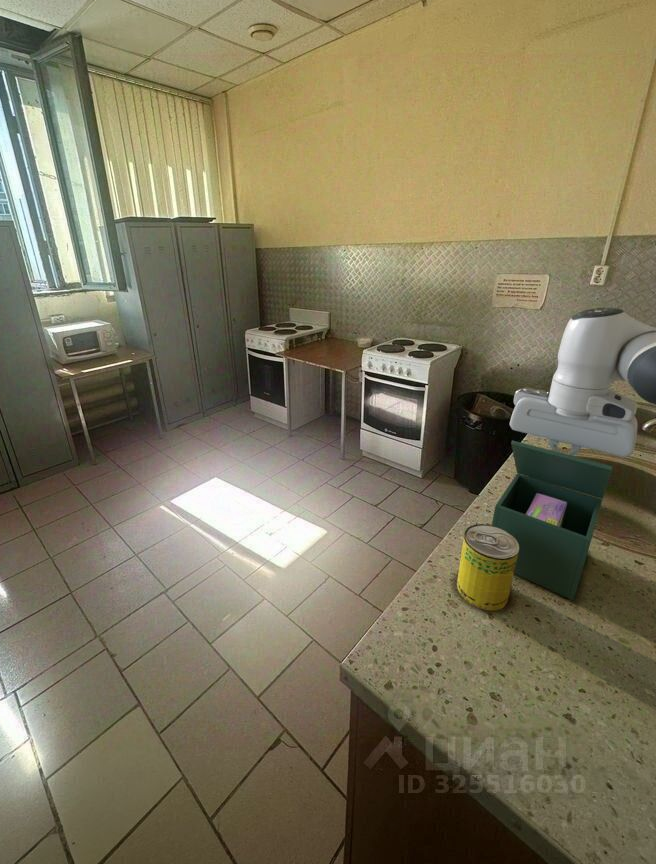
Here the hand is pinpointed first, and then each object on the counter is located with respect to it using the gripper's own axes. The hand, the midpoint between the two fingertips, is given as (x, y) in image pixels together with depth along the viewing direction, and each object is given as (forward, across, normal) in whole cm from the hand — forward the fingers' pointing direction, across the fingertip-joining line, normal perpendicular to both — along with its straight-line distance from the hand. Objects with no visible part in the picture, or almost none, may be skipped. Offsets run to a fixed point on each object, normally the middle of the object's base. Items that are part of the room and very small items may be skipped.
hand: (561, 461), depth 79 cm
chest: (+21, 0, -4) cm, 22 cm away
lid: (+1, 0, -3) cm, 3 cm away
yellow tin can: (+21, -6, -21) cm, 30 cm away
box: (+21, 0, -5) cm, 21 cm away
